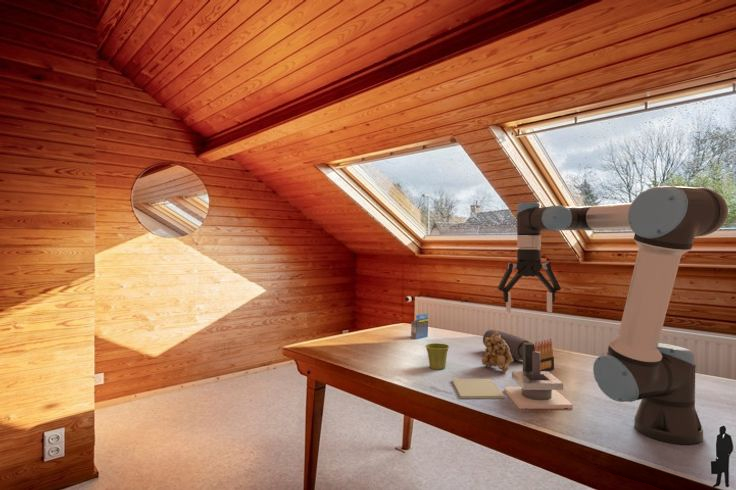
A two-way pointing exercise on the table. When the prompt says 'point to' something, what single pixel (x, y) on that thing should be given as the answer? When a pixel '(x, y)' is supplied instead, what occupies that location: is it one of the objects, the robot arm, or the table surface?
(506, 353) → the mineral formation
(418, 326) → the label tape box
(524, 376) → the pink square frame
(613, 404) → the table surface
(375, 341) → the table surface
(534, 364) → the stand
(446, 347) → the plant pot
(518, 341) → the bluetooth speaker
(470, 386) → the mat
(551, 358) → the ammunition clip
